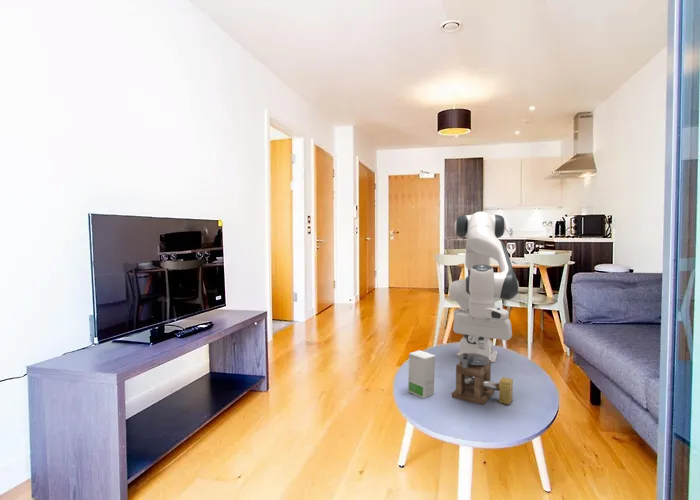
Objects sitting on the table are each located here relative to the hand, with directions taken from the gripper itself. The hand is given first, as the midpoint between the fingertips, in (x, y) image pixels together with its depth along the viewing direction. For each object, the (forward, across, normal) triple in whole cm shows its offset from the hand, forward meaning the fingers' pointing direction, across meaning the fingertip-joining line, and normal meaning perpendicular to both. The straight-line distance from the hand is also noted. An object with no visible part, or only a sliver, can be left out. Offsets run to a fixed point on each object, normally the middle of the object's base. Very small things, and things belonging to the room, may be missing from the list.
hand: (481, 348), depth 145 cm
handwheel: (+8, -5, +5) cm, 10 cm away
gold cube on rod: (+20, -1, +7) cm, 22 cm away
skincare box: (+21, -22, -3) cm, 31 cm away
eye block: (+20, -5, +7) cm, 22 cm away
